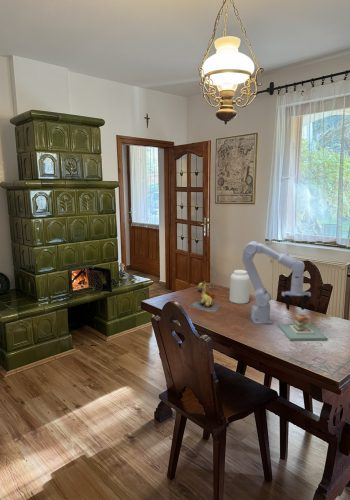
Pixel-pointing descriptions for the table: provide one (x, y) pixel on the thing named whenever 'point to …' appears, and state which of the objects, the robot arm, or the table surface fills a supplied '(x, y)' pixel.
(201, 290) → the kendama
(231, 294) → the white jar
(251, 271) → the robot arm
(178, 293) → the table surface
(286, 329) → the plate
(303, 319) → the block stack
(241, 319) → the table surface
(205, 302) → the yellow giraffe figurine
